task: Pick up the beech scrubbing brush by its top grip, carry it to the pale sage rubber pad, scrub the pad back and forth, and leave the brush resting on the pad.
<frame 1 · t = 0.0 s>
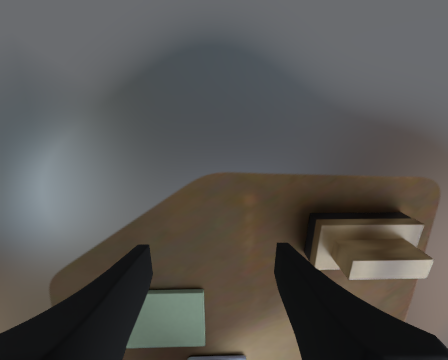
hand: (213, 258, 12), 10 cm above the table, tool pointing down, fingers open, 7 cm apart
pad: (152, 317, 27), on the table
brush: (351, 232, 24), on the table
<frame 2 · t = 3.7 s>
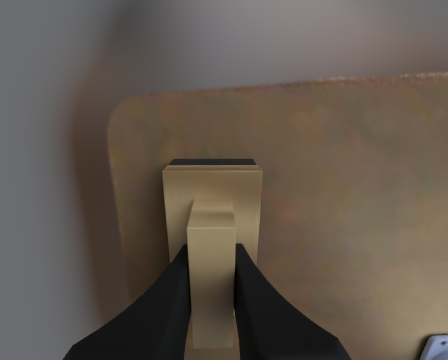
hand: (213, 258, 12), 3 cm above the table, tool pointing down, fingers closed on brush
brush: (214, 228, 15), on the table, touching gripper
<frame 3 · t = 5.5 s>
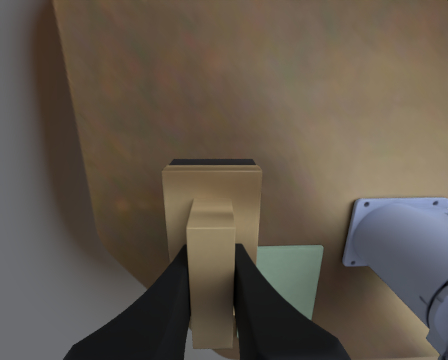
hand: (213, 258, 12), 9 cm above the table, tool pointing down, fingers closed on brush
pad: (275, 292, 25), on the table
brush: (214, 228, 15), point 6 cm above the table, touching gripper
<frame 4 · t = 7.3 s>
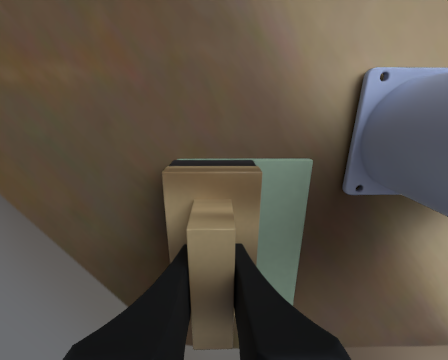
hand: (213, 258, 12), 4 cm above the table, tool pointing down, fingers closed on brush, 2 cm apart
pad: (241, 240, 17), on the table
brush: (214, 228, 15), point 1 cm above the table, touching gripper
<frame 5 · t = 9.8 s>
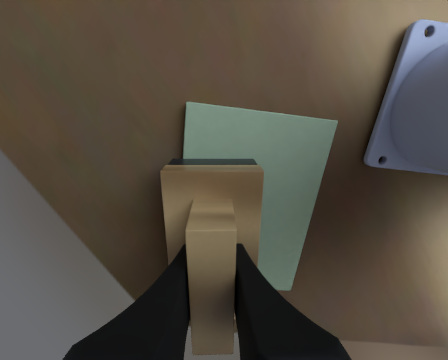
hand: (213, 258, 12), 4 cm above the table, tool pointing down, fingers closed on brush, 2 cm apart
pad: (245, 207, 15), on the table
brush: (214, 229, 15), point 1 cm above the table, touching gripper
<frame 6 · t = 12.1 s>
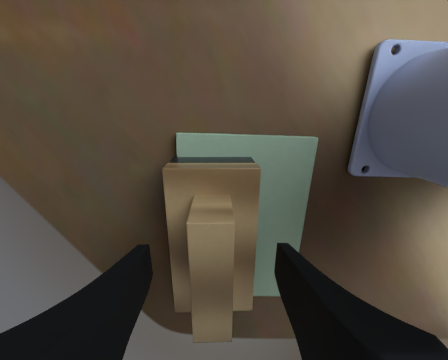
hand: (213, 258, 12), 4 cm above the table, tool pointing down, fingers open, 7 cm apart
pad: (241, 222, 16), on the table
brush: (213, 225, 15), point 1 cm above the table, touching pad
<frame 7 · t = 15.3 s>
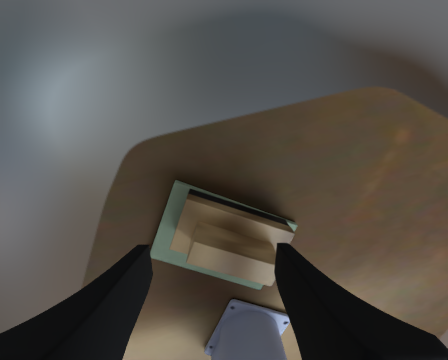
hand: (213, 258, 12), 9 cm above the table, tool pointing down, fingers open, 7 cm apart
pad: (221, 238, 23), on the table
brush: (230, 225, 21), point 1 cm above the table, touching pad
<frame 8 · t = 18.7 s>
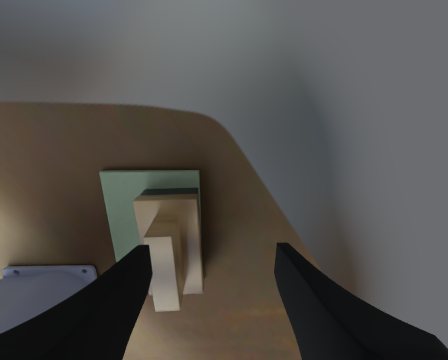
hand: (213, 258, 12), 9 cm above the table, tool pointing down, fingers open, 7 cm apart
pad: (157, 230, 22), on the table
brush: (176, 234, 22), point 1 cm above the table, touching pad
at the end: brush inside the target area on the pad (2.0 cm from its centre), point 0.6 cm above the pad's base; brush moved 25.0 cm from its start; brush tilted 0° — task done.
